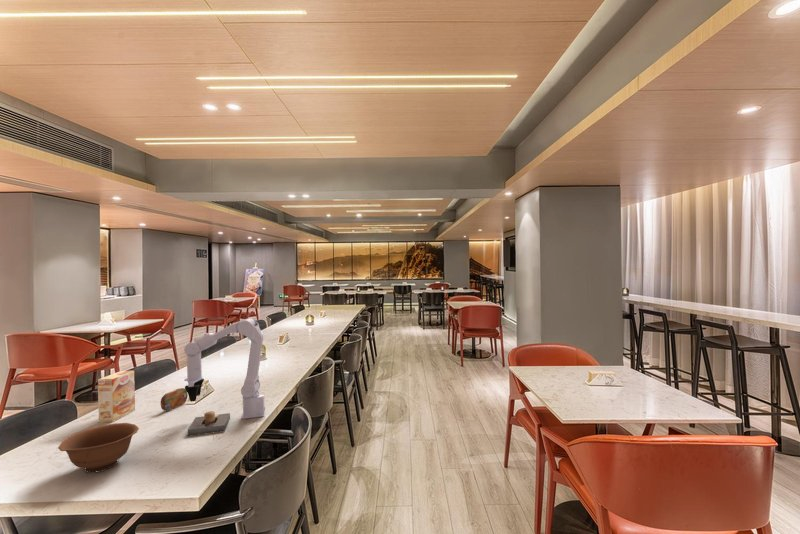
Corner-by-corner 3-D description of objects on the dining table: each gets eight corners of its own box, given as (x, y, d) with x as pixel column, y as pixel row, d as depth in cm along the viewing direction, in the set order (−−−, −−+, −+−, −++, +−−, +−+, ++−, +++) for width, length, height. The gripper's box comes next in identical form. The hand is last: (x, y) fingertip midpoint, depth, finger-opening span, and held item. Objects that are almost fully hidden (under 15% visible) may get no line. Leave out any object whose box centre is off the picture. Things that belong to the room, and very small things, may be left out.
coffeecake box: (113, 422, 174) (112, 378, 174) (97, 422, 174) (96, 379, 174) (136, 409, 189) (135, 370, 189) (121, 410, 189) (120, 370, 189)
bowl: (43, 489, 120) (42, 454, 120) (79, 456, 141) (79, 426, 141) (125, 476, 126) (124, 443, 126) (148, 447, 148) (147, 418, 148)
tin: (165, 413, 183) (164, 395, 183) (159, 413, 184) (158, 395, 184) (188, 402, 198) (187, 386, 198) (183, 402, 199) (182, 385, 199)
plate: (230, 418, 174) (229, 412, 174) (225, 431, 160) (224, 424, 160) (195, 423, 170) (195, 416, 170) (187, 436, 157) (187, 429, 157)
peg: (216, 424, 168) (215, 410, 168) (213, 428, 164) (213, 414, 164) (206, 425, 167) (205, 411, 167) (203, 429, 163) (203, 415, 163)
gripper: (188, 365, 180) (189, 394, 180) (180, 373, 167) (181, 404, 166) (205, 363, 182) (206, 392, 182) (198, 371, 168) (199, 402, 168)
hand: (195, 398), depth 175 cm, fingers open, 7 cm apart
